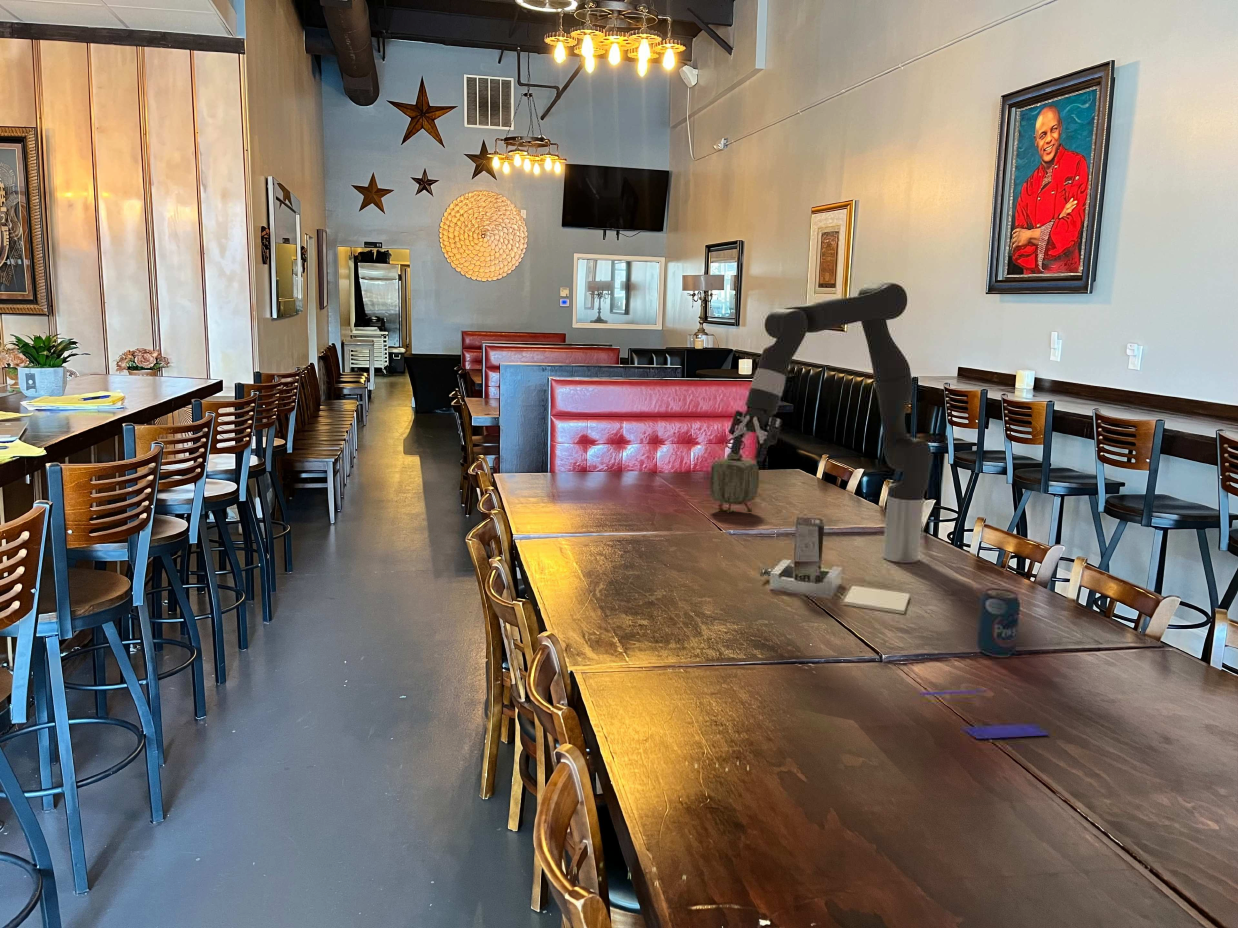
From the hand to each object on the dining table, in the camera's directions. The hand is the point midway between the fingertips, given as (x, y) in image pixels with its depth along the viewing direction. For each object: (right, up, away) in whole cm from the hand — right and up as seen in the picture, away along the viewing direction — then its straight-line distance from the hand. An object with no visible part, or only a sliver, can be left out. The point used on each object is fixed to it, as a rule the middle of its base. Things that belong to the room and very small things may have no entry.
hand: (746, 457), depth 202 cm
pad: (+29, -33, -6) cm, 45 cm away
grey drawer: (+13, -31, +4) cm, 34 cm away
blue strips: (+29, -42, -58) cm, 77 cm away
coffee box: (+15, -31, +4) cm, 35 cm away
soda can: (+44, -39, -35) cm, 68 cm away
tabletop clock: (+7, -18, +82) cm, 85 cm away
